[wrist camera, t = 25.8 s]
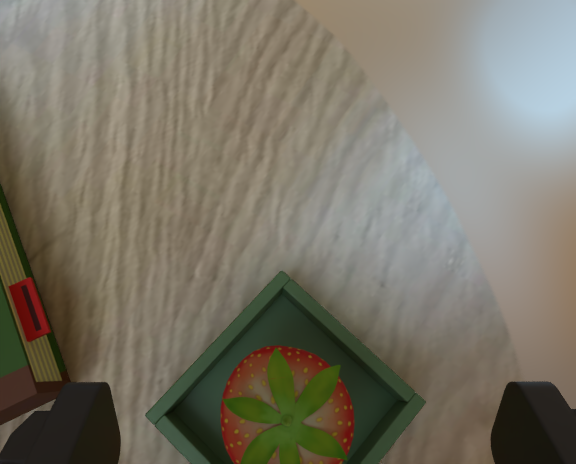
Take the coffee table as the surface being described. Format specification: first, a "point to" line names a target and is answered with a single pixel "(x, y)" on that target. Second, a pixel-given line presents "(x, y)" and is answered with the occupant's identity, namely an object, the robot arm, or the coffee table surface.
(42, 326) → the hardcover book
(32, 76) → the coffee table surface
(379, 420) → the green tray
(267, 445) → the fruit
